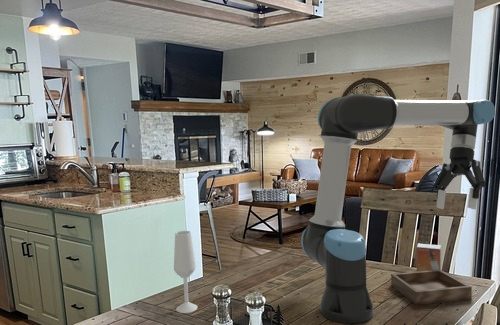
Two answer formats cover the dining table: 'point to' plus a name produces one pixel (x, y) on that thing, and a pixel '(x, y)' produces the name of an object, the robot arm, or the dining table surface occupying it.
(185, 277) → the champagne flute
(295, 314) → the dining table surface
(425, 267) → the small box
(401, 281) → the wooden tray
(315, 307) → the dining table surface
